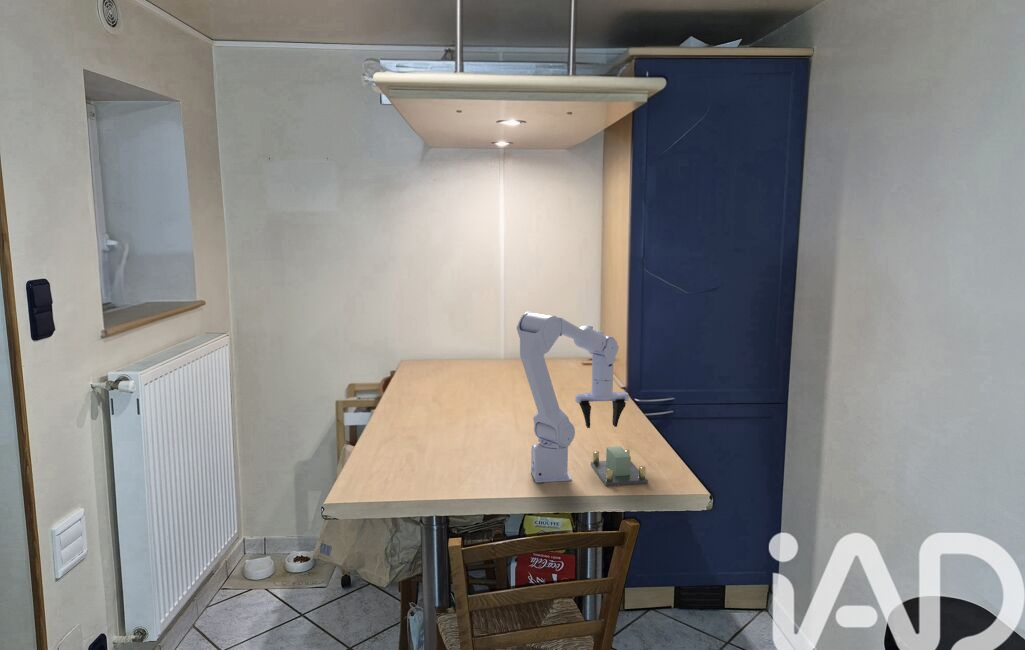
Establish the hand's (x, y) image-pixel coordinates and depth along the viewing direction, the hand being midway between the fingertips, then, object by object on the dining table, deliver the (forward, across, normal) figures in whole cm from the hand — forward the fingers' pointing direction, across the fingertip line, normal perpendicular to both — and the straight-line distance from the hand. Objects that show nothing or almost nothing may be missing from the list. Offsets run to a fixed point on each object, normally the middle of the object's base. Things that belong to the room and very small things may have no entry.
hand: (601, 426), depth 193 cm
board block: (+8, -2, +11) cm, 14 cm away
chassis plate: (+9, -2, +11) cm, 15 cm away
